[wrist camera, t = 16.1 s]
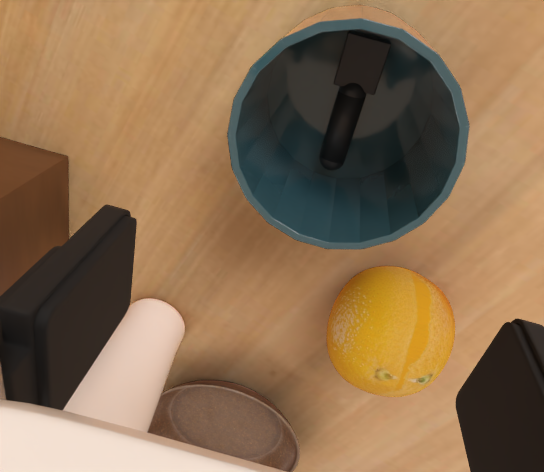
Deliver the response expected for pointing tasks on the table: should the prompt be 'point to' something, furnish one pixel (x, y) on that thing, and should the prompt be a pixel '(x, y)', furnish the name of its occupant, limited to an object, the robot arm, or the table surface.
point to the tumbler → (365, 142)
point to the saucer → (227, 423)
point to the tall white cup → (132, 367)
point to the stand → (30, 207)
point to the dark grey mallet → (352, 93)
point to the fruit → (390, 331)
